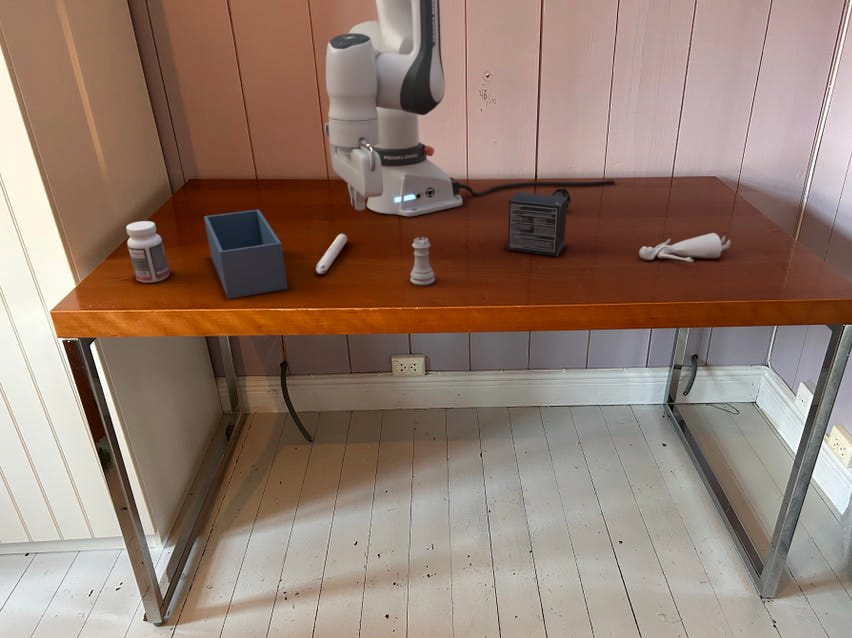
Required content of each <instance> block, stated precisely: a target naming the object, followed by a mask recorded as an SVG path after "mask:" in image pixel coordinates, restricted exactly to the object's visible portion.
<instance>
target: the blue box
mask: <svg viewBox="0 0 852 638" xmlns="http://www.w3.org/2000/svg"><path fill="white" fill-rule="evenodd" d="M203 219H204V224H205V230H206V235H207V241H208V245H209V252H210V257H211V260H212V263H213V265H214V267H215V270H216V272H217V276H218V278H219V280H220V282H221V285H222V288H223V290H224V292H225V295H226V297H227V299H234V298H241V297H246V296H253V295H258V294H259V295H260V294H266V293H270V292H277V291H282V290H288V281H287V274H286V267H285V260H284V252H283V246H282V242H281V241H280V240H279V237H278V236H277V235H276V233H275V232H274V230H273V228H272V227H271V226H270V224H269V222H268V221H267V220H266V218H265V217H264V215H263V213H262V211H261V210H260V209H253V210H245V211H236V212H235V211H234V212H229V213H220V214H219V213H218V214H213V215H205V216H203Z"/></svg>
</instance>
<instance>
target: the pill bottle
mask: <svg viewBox="0 0 852 638" xmlns="http://www.w3.org/2000/svg"><path fill="white" fill-rule="evenodd" d="M156 231H157V227H156V224H155V222H154V221H149V220H142V221H135V222H131V223H128V224H127V225H126V234H127V235H128V236H129V238H128V239H127V243H126V244H127V249H128V253H129V255H130V256H129V257H130V261H131V263H132V264H131V265H132V267H133V273H134V275H135V279H136V280H137V281H138V282H140V283H145V284H151V283H158V282H161V281H164V280H166V279H167V278H169V276H170V267H169V264H168V260H167V256H166V252H165V246H164V242H163V239H162V237H161V236H160V235H159V234H158V233H156Z"/></svg>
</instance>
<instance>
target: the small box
mask: <svg viewBox="0 0 852 638" xmlns="http://www.w3.org/2000/svg"><path fill="white" fill-rule="evenodd" d="M567 197H568V196H567ZM567 197H560V196H552V195H550V194H549V195H548V194H540V193H531V192H530V193H529V192H519V191H518V192H516V193H515V194H514V195H512V196H511V198H508V225H507V226H508V227H507V229H508V232H507V249H506V250H507V251H511V252H519V253H528V254H534V255H543V256H549V257H550V256H551V257H558V256H559V255H560V253H561V251H563V249H564V247H565V239H566V238H565V237H566V236H565V235H566V223H567V209H568V207H567Z"/></svg>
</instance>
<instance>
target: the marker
mask: <svg viewBox="0 0 852 638" xmlns="http://www.w3.org/2000/svg"><path fill="white" fill-rule="evenodd" d="M347 241H348V237H347V235H346V234H344V233H340V234H338V235H337V236H336V237H335V239H334V241H333V242H332V243H331V244H330V246H329V247H328V249H327V250H326V251H325V253H324V254H323V256H322V257H321V258H320V260H319V261H318V263H317V264H316V266H315V272H317V275H324V274H325V273H327V271H329V268H330V267H331V266H332V264H333V262H335V259H336V258H337V257H338V255H339V253H340V252H341V251H342V249H343V248H344V246H346V245H345V244H346V243H347Z"/></svg>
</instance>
